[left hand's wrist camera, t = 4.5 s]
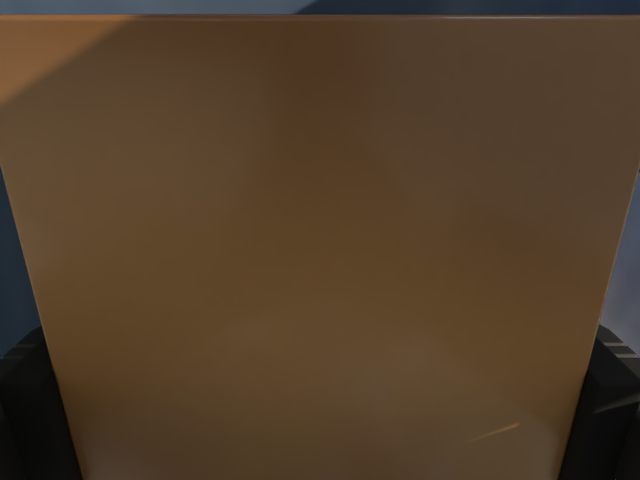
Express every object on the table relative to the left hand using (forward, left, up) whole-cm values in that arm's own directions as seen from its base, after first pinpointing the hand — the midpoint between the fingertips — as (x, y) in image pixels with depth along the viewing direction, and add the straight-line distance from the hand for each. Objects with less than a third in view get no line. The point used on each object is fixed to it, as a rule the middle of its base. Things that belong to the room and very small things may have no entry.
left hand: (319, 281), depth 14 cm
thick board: (+21, +4, -1) cm, 21 cm away
